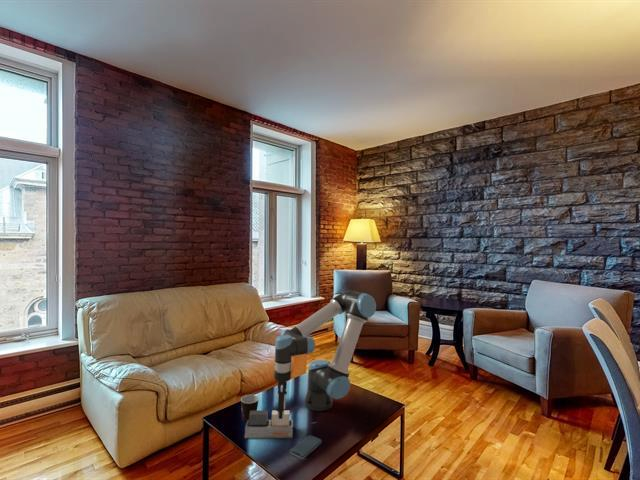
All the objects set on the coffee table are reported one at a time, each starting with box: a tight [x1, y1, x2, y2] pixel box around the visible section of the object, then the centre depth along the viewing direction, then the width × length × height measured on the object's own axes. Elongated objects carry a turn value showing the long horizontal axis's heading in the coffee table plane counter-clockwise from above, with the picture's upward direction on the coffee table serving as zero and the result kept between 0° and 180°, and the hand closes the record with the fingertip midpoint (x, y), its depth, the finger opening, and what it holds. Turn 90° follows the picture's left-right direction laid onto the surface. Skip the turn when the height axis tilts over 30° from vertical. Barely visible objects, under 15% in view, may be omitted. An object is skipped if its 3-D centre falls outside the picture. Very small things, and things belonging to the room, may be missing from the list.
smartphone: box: [289, 434, 323, 460], centre depth 138 cm, size 8×2×15 cm
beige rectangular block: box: [271, 409, 291, 426], centre depth 149 cm, size 8×4×8 cm, turn 93°
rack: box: [244, 410, 294, 439], centre depth 148 cm, size 21×9×9 cm, turn 93°
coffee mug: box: [240, 394, 260, 423], centre depth 160 cm, size 12×9×10 cm
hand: (281, 416), depth 149 cm, fingers open, 13 cm apart
